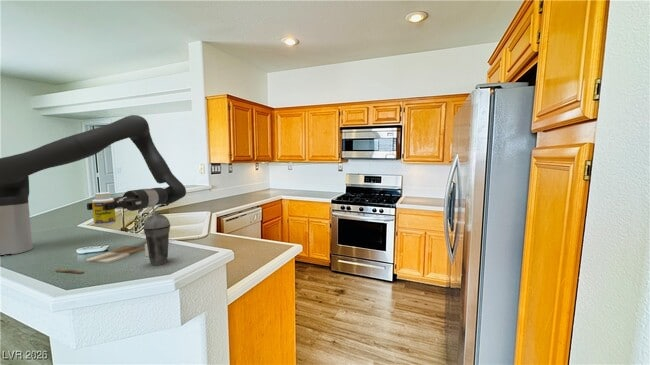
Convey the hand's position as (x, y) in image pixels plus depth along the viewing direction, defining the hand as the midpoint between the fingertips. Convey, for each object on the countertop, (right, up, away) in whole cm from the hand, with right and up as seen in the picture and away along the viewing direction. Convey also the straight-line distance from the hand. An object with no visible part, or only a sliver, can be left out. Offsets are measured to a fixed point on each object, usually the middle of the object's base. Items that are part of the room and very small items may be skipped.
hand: (96, 207), depth 84 cm
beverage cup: (+20, -18, 0) cm, 27 cm away
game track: (0, -17, +4) cm, 18 cm away
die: (+13, -17, +8) cm, 23 cm away
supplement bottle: (0, -6, +3) cm, 7 cm away
